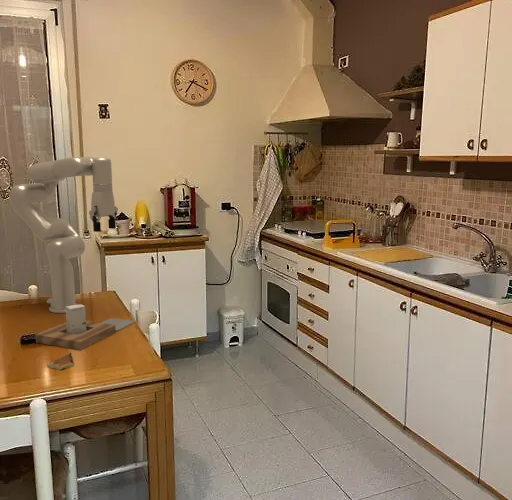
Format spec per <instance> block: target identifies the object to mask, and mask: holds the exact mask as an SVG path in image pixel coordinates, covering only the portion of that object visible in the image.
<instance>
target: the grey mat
mask: <svg viewBox="0 0 512 500" xmlns="http://www.w3.org/2000/svg"><path fill="white" fill-rule="evenodd" d="M100 323H105V324H112V325H115V328H116V333H118V332H120V331H122V330H124V329H125V328H127V327H128V328H129V326H131V325H133V323H134V324H136V321H134V320H127V319H121V318H112V317H110V318H108V319H106V320H104V321H102V322H100Z"/></svg>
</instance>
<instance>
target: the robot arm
mask: <svg viewBox="0 0 512 500" xmlns="http://www.w3.org/2000/svg"><path fill="white" fill-rule="evenodd" d="M83 176H84V177H86V176H87V177H90V176H91V177H92V194H91V198H90V199H91V202H90V203H91V204H90V210H89V211H88V215H89V218H90V219H91V221H92V226H93V227H92V228H93V232H96V233H100V232H101V231H102V228H101V227H102V226H101V225H102V223H101V221H100V220H101V219H102V217H108V219H107V222H108V230H109V229H111V230H113V229H114V230H116V228H117V226H116V224H117V223H116V220H117V216H118V210H119V208H118V207H117V206H115V197H114V192H113V172H112V160H111V158H109V157H92V156H91V157H90V156H75V157H68V158H61V159H56V160H51V161H43V162H40V163H39V162H38V163H35V164H31V165H30V166H29V168H28V169H27V177H28V178H29V180H30V181H31V182H33V183H21V184H17V185H15V186H13V187H12V188H11V189H10V191H9V197H8V198H9V202H10V205H11V208H12V209H13V211H14V212H15V213H16V215H18V216H19V217H20V219H22V220H23V222H24V223H26V225H27V226H28V227H29V229H30V230H31V232H32V233H33V234H34V235H35V236H36V237H37V238H38V239H39V241H41V242H43V243H44V242H45V243H46V242H48V244H47V245H46V251H45V252H46V255H47V259H48V263H49V271H50V283H51V284H50V285H51V297H48V299H47V300H46V303H47V304H50V306H49V307H48V310H49V312H50V313H54V314H58V313H59V314H66V308H65V307H66V306H71V305H78V304H79V303H78V302H77V303H76V291H75V290H76V289H75V287H76V286H75V273H74V267H73V264H72V262H71V260H70V259H73V258H76V257H79V256H82V255H83V254H84V253H85V249H86V244H85V241H84V240H83V239H82V236H80V234H79V233H78V232H77V231H76V230H75V229H74V228H73V226H72V224H70V222H68V221H67V220H66V219H64V218H62V217H61V218H58V217H57V218H49V217H48V216H47V215H46V214H45V212H43V211H42V210H41V208H40V207H38V206H37V205H34V204H35V203H42V202H46V201H47V200H48V199H49V198H51V196H52V194H53V192H54V190H55V189H56V187H57V185H58V184H59V183H60V182H61V181H64V180H66V178H72V177H83ZM33 203H34V204H33Z"/></svg>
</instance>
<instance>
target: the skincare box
mask: <svg viewBox="0 0 512 500" xmlns="http://www.w3.org/2000/svg"><path fill="white" fill-rule="evenodd" d="M77 304H78V305H71V306H66V307H65V308H66V313H65V322H66V327H67V333H69V334H75V335H79V334H81V333H83V332H86V321H87V320H86V319H87V317H86V315H87V314H86V313H87V312H86V306H85V305H83V304H81V303H77Z"/></svg>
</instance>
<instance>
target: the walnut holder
mask: <svg viewBox="0 0 512 500" xmlns="http://www.w3.org/2000/svg"><path fill="white" fill-rule="evenodd" d="M116 333H117V332H116V328H115V325H112V324H105V323H101V322H98V321H96V322H95V321H90V320H86V332H83V333H81V334H79V335H75V334H69V333H67V327H66V321H65V322H63V323H60V324H57V325H55V326H53V327H51V328H48V329H45V330H43V331H41V332H38V333H36V334H35V342H36V343H37V344H42V345H43V344H44V345H49V346H55V347H60V348H66V349H71V350H72V349H73V350H77V351H81V350H84V349H85V348H88V347H90V346H92V345H94V344H95V343H97V342H100V341H101V340H102V341H103V339H106V338H108V337H109V336H111V335H114V334H116Z"/></svg>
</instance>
